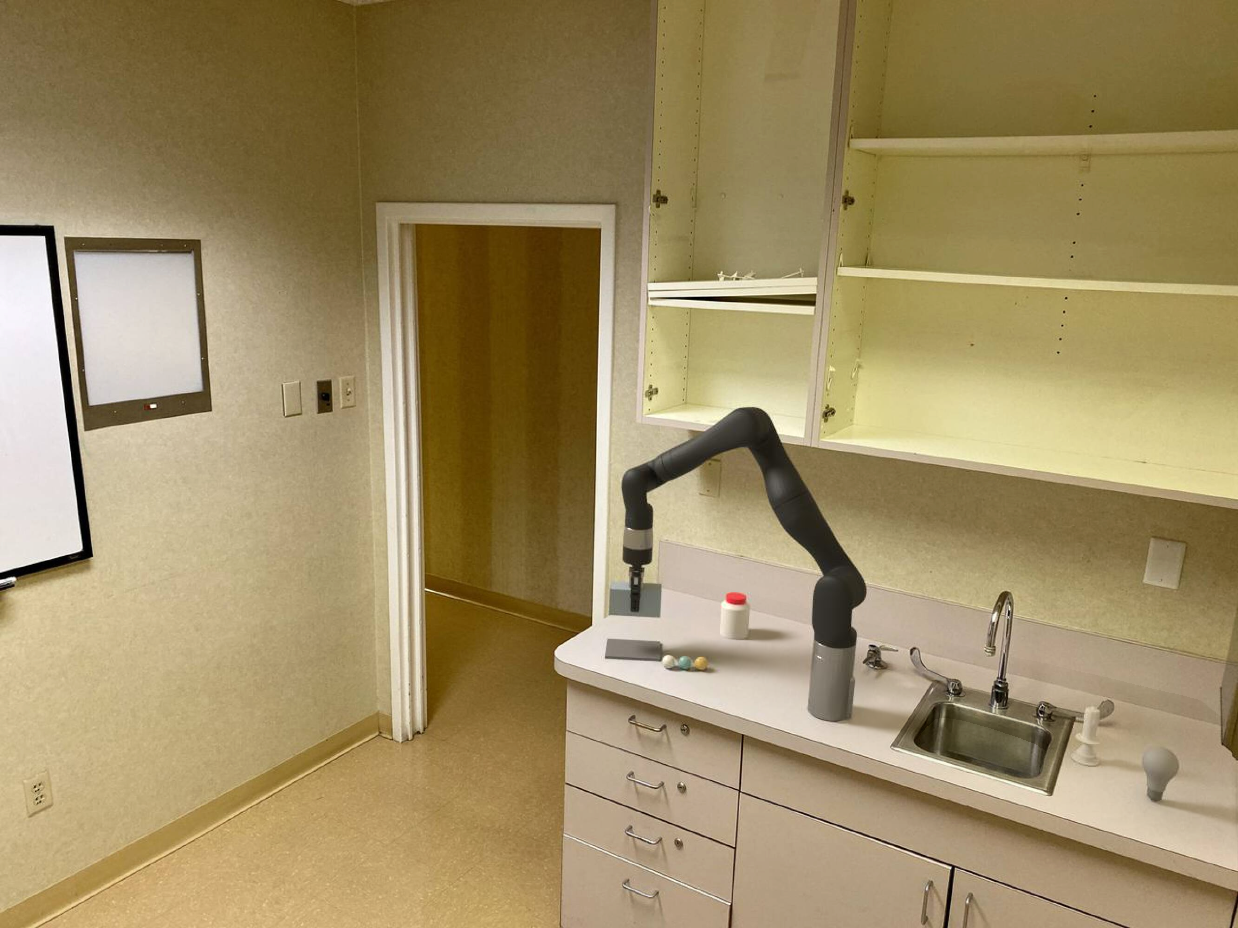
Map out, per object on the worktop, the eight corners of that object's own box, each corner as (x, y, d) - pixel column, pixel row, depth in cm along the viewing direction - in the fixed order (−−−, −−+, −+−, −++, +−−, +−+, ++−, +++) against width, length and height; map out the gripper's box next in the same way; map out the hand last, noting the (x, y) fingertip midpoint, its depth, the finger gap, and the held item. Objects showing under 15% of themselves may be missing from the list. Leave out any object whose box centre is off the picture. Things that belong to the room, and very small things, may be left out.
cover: (660, 609, 233) (661, 583, 231) (660, 617, 227) (661, 591, 226) (609, 606, 233) (610, 581, 232) (608, 615, 228) (609, 588, 226)
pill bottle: (747, 629, 249) (750, 591, 247) (748, 640, 241) (751, 601, 239) (719, 627, 250) (721, 589, 247) (719, 638, 242) (722, 599, 240)
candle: (1072, 749, 191) (1081, 697, 189) (1100, 758, 188) (1109, 705, 186) (1068, 760, 187) (1076, 707, 184) (1097, 769, 184) (1106, 715, 181)
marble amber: (706, 666, 225) (707, 654, 224) (707, 672, 221) (708, 660, 221) (694, 666, 225) (694, 654, 224) (694, 671, 222) (695, 659, 221)
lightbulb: (1162, 813, 169) (1172, 760, 167) (1129, 797, 174) (1138, 745, 172) (1177, 803, 173) (1187, 751, 171) (1144, 787, 178) (1153, 737, 175)
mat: (660, 643, 238) (660, 641, 237) (660, 661, 227) (660, 658, 227) (607, 640, 238) (607, 638, 238) (604, 658, 227) (604, 655, 227)
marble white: (674, 665, 225) (675, 653, 224) (674, 670, 222) (675, 658, 221) (661, 664, 225) (662, 652, 224) (661, 670, 222) (662, 657, 221)
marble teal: (690, 666, 225) (691, 654, 224) (691, 671, 222) (691, 659, 221) (677, 665, 225) (678, 653, 224) (678, 670, 222) (678, 658, 221)
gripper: (652, 553, 219) (649, 618, 223) (653, 535, 233) (650, 597, 237) (621, 551, 219) (619, 616, 223) (624, 534, 233) (621, 596, 237)
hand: (635, 606), depth 230 cm, fingers closed on cover, 5 cm apart
